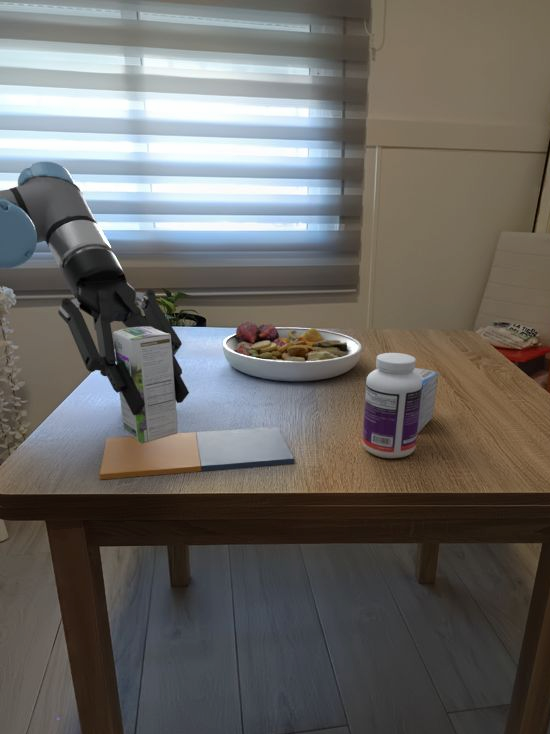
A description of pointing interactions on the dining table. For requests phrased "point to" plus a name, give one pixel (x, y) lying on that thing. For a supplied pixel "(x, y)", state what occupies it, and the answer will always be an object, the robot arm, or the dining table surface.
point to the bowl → (290, 352)
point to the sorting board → (195, 452)
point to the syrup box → (148, 382)
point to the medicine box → (426, 396)
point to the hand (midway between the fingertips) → (161, 403)
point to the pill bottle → (392, 406)
